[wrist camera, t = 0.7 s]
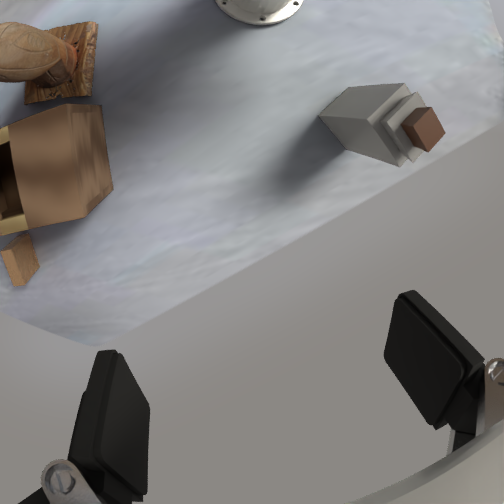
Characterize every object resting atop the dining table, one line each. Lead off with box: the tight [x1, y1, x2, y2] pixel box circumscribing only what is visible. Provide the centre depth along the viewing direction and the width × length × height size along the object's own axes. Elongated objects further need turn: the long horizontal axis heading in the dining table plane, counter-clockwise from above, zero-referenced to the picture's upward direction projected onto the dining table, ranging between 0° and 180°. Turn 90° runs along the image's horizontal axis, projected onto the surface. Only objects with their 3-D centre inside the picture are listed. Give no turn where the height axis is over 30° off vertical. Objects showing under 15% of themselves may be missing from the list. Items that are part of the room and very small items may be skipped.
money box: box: [0, 104, 113, 236], centre depth 29 cm, size 12×20×12 cm, turn 94°
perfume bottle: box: [318, 83, 445, 167], centre depth 31 cm, size 7×7×18 cm
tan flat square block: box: [0, 233, 40, 286], centre depth 36 cm, size 6×2×6 cm, turn 4°
